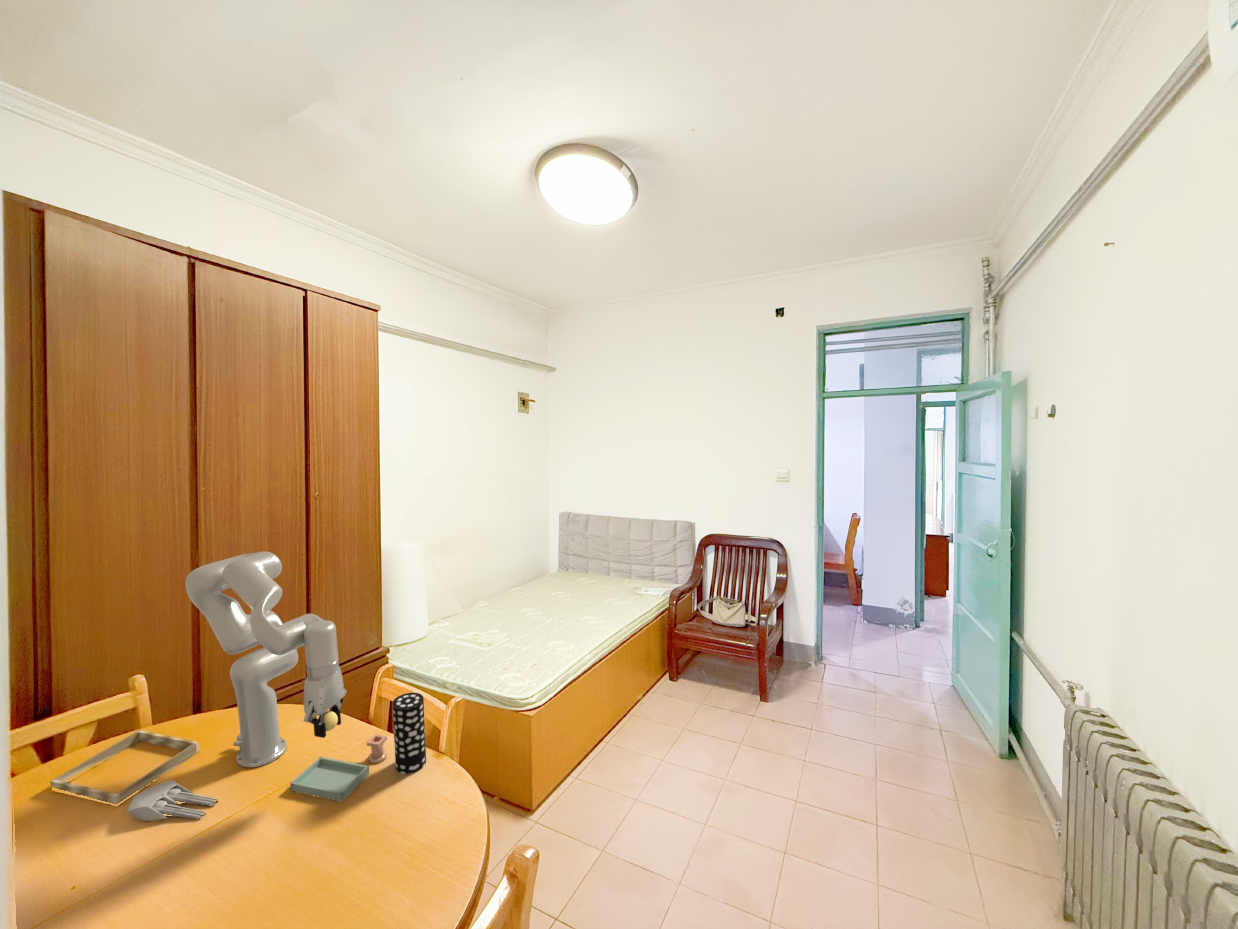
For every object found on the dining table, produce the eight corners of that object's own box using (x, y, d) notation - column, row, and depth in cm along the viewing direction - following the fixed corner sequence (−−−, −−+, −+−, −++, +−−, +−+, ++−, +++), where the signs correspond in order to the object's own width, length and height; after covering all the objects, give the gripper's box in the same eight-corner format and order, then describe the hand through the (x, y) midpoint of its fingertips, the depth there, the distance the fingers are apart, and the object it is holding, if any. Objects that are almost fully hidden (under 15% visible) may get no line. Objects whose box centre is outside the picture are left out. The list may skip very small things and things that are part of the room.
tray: (291, 791, 152) (290, 783, 152) (321, 764, 163) (320, 756, 162) (342, 802, 149) (341, 794, 148) (369, 773, 159) (368, 766, 159)
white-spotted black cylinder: (416, 776, 159) (413, 711, 156) (389, 771, 160) (386, 707, 157) (431, 756, 167) (429, 694, 164) (406, 752, 168) (403, 691, 165)
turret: (194, 834, 141) (195, 817, 140) (116, 820, 141) (117, 803, 140) (223, 804, 151) (224, 788, 150) (151, 790, 151) (151, 775, 150)
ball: (313, 733, 151) (312, 716, 150) (327, 722, 156) (325, 706, 155) (329, 736, 150) (328, 719, 149) (342, 725, 155) (341, 708, 154)
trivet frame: (51, 791, 151) (50, 781, 150) (140, 739, 173) (138, 730, 172) (116, 807, 146) (115, 796, 145) (199, 751, 167) (198, 742, 167)
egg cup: (364, 761, 164) (363, 743, 163) (375, 750, 169) (374, 732, 168) (379, 764, 163) (378, 746, 162) (390, 753, 168) (389, 735, 167)
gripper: (333, 651, 159) (338, 710, 162) (285, 682, 143) (291, 747, 146) (356, 654, 158) (361, 714, 160) (310, 686, 141) (316, 752, 144)
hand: (328, 729), depth 153 cm, fingers closed on ball, 4 cm apart
